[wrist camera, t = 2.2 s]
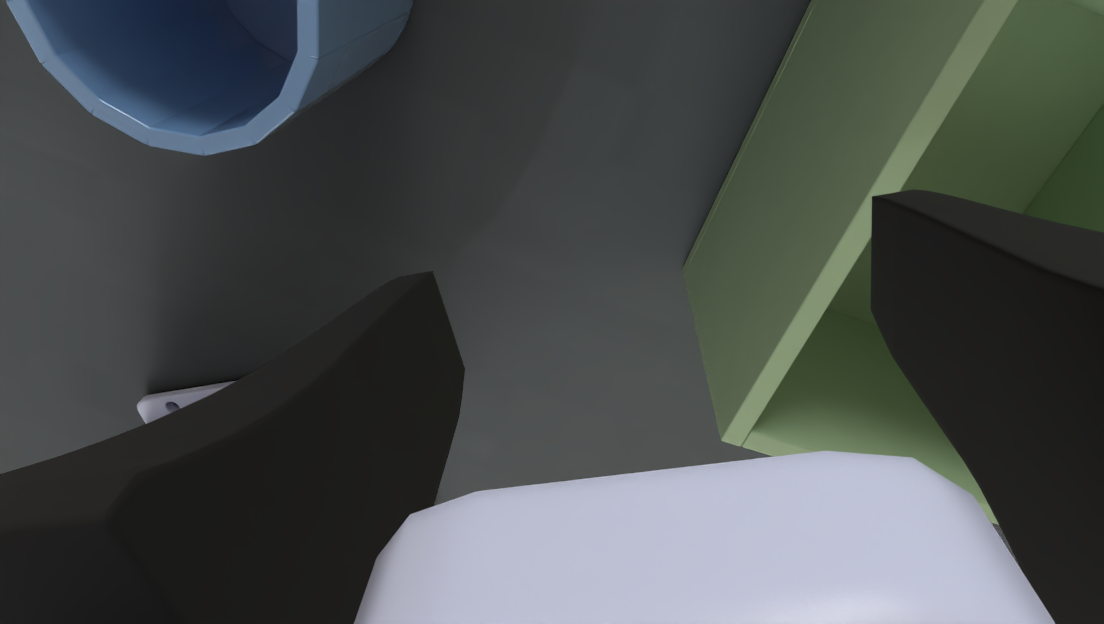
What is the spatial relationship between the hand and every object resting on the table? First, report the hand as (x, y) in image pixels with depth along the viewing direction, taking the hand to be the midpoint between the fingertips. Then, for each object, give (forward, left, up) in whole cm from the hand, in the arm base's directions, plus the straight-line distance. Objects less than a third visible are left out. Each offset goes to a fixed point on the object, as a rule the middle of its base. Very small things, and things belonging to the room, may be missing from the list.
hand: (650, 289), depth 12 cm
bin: (+8, -3, -10) cm, 13 cm away
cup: (-8, +6, -10) cm, 14 cm away
